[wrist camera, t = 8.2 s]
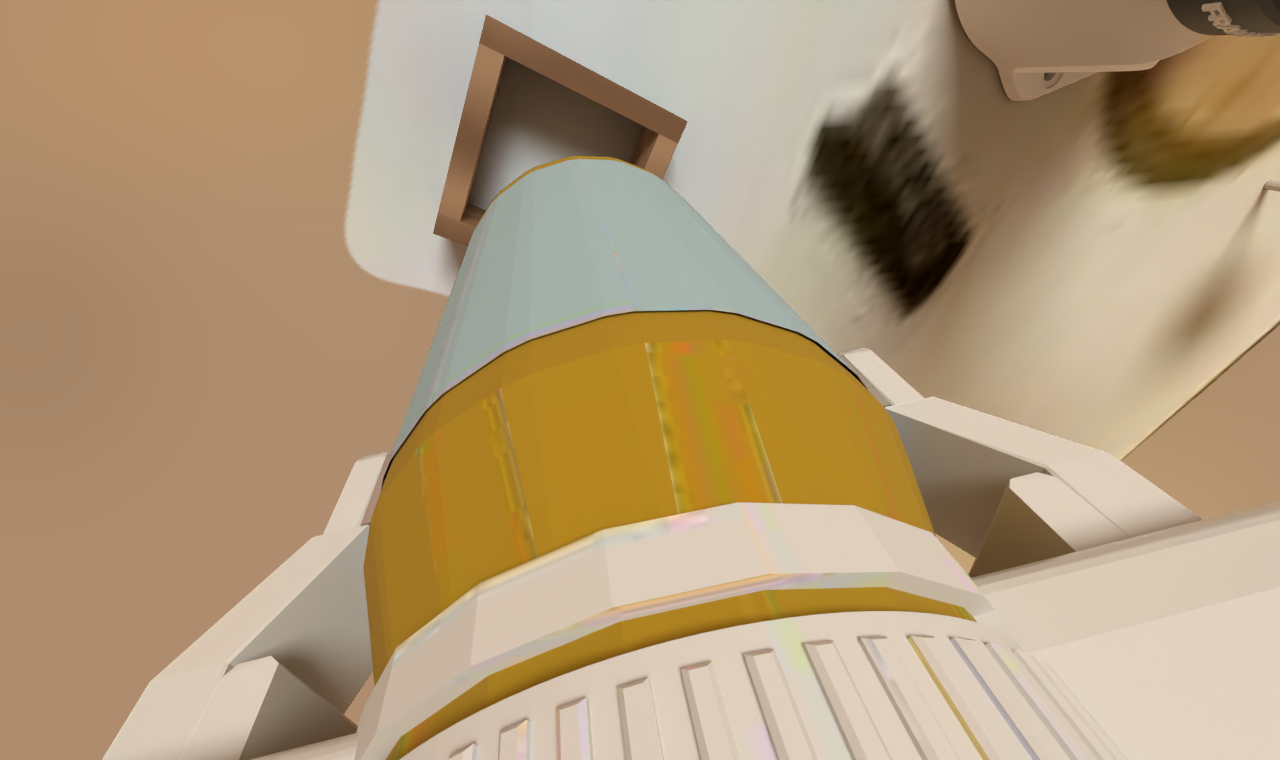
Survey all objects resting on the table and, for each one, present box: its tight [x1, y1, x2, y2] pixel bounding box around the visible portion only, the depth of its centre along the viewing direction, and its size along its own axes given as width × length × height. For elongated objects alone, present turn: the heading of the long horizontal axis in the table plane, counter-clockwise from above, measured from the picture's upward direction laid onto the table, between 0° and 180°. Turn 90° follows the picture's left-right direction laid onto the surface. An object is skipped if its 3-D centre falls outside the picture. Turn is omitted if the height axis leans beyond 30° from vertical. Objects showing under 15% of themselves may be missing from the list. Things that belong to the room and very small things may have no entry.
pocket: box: [433, 15, 688, 245], centre depth 29 cm, size 11×11×4 cm
